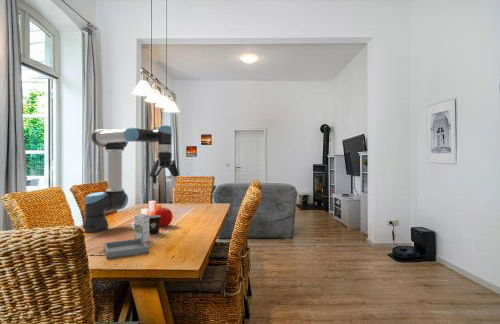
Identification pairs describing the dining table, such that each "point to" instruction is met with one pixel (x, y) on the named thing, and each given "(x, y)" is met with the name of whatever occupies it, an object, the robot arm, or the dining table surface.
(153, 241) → the dining table surface
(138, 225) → the syrup box
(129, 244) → the tray
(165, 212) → the tomato
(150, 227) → the coffee mug
